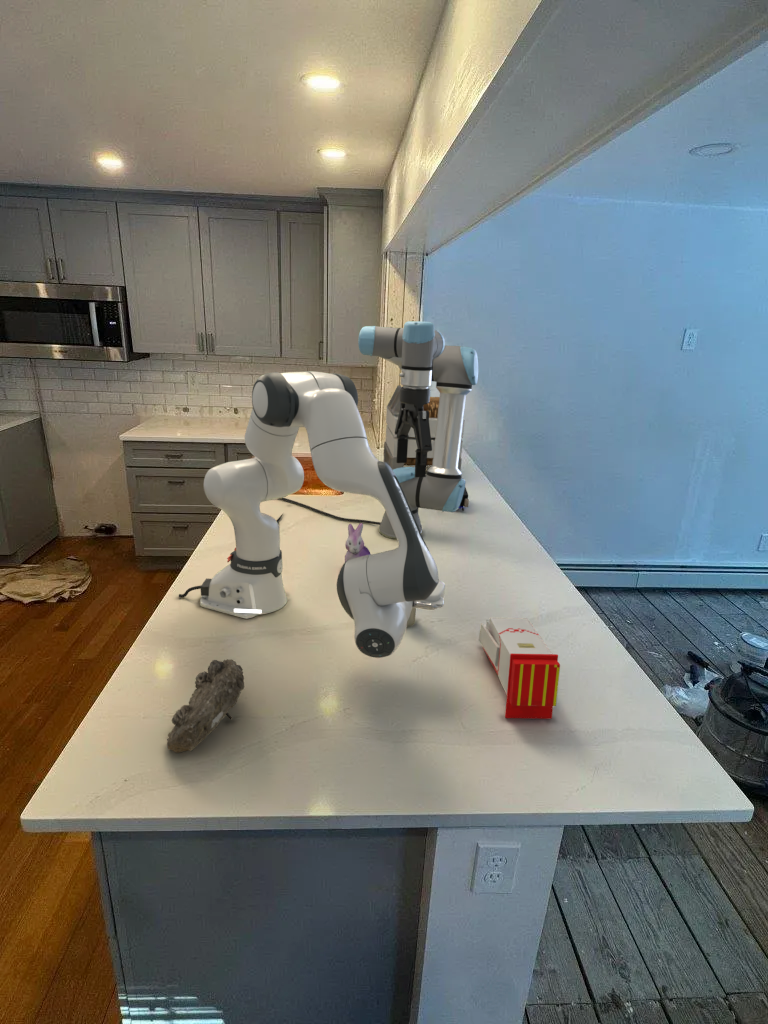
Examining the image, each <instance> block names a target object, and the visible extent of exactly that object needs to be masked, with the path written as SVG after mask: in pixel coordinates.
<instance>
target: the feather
mask: <svg viewBox="0 0 768 1024" xmlns="http://www.w3.org/2000/svg"><path fill="white" fill-rule="evenodd" d="M283 515H284V513H282V514H281V515H280V516H279V517H278V518H277V519H276V521H277V523H278V524H279V522H280V520H281V519H282V517H283Z"/></svg>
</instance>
